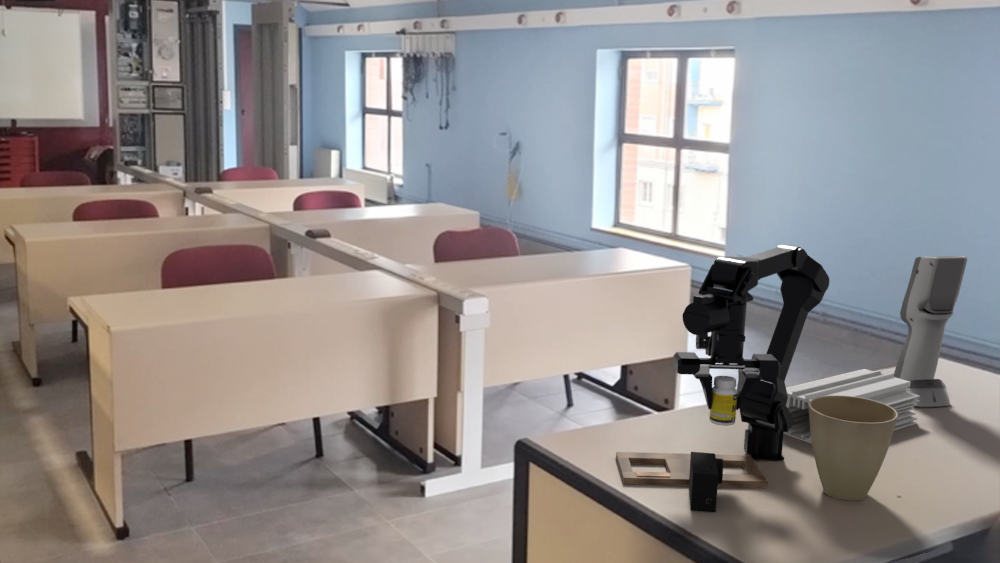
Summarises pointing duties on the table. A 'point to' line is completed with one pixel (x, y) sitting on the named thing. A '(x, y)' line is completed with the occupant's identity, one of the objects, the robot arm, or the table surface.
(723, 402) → the supplement bottle
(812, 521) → the table surface
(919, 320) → the thermal camera
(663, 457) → the jack panel
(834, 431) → the plant pot
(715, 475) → the digital camera
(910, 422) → the aluminum extrusion profile
